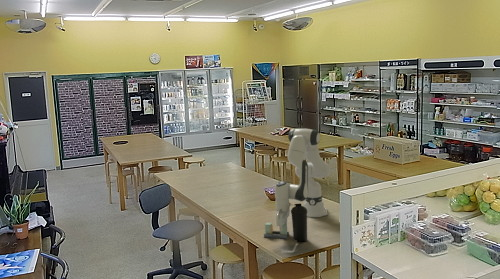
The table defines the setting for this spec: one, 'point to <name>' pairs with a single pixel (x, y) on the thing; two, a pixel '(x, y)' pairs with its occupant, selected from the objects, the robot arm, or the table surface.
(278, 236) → the rail
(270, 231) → the green and orange block
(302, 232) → the water bottle
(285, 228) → the pale green block
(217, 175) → the table surface
